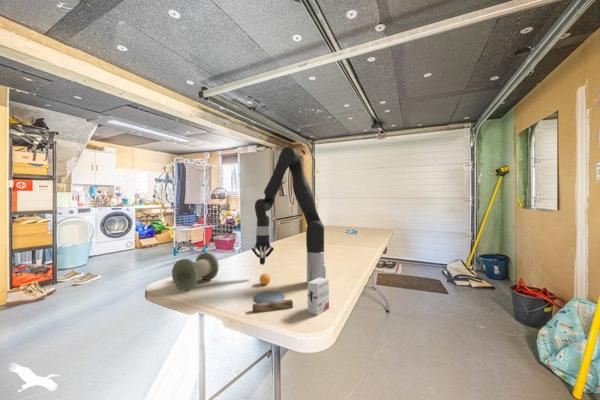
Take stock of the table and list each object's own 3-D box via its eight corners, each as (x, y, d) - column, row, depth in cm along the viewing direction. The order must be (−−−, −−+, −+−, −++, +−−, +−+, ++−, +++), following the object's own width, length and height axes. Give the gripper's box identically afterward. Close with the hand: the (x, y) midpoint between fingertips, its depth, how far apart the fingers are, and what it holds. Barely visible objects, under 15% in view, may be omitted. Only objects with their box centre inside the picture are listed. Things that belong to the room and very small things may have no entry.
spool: (195, 292, 106) (195, 261, 107) (171, 288, 111) (172, 258, 112) (218, 280, 122) (218, 253, 122) (196, 277, 127) (197, 251, 127)
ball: (269, 282, 120) (269, 271, 120) (271, 285, 114) (271, 274, 114) (259, 283, 118) (259, 272, 118) (260, 286, 113) (260, 275, 113)
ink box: (319, 304, 94) (319, 276, 94) (329, 308, 90) (329, 279, 91) (307, 312, 87) (307, 281, 87) (317, 316, 84) (317, 284, 84)
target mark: (281, 290, 109) (281, 289, 109) (287, 302, 95) (287, 302, 95) (252, 293, 105) (252, 292, 105) (254, 306, 91) (254, 306, 91)
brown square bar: (291, 305, 92) (291, 299, 93) (292, 307, 91) (292, 301, 91) (252, 310, 88) (252, 304, 88) (252, 312, 86) (252, 306, 86)
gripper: (251, 235, 121) (250, 266, 121) (275, 234, 124) (274, 265, 124) (250, 233, 128) (250, 263, 128) (273, 232, 132) (272, 261, 131)
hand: (262, 264), depth 126 cm, fingers closed
